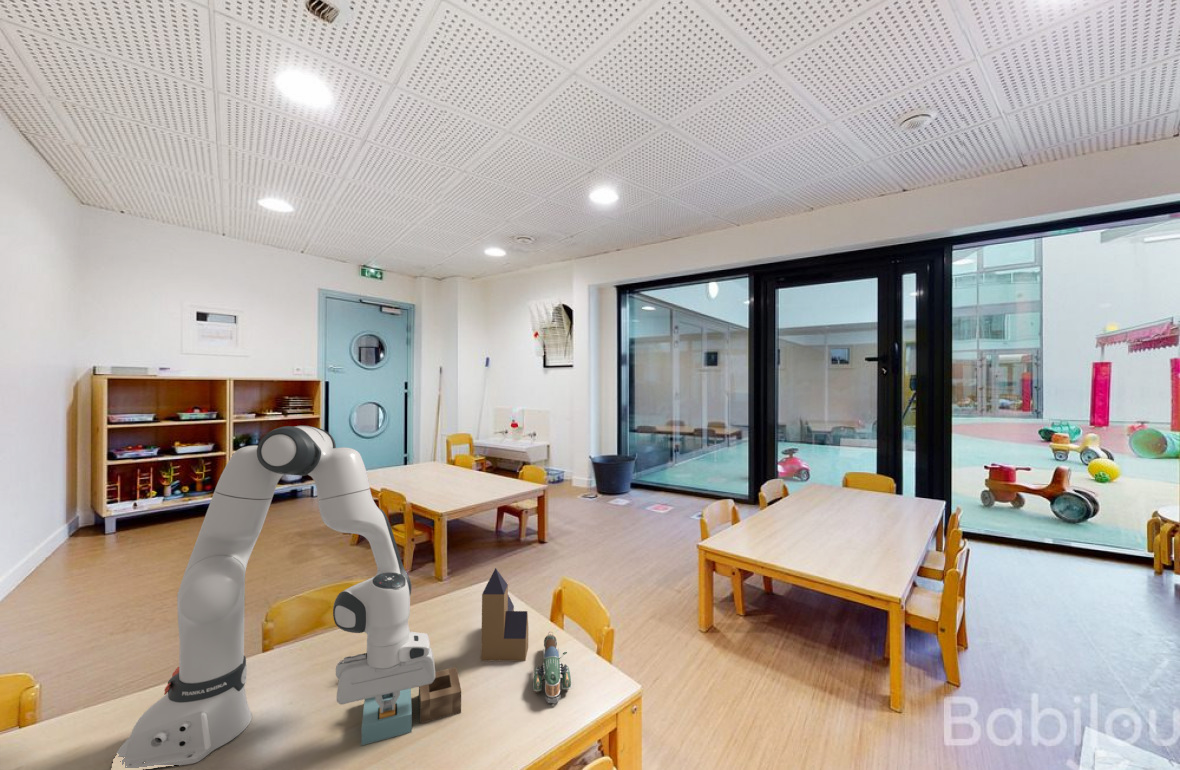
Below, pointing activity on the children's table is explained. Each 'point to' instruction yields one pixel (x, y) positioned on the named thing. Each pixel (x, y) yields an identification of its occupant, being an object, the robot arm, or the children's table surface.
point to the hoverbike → (551, 671)
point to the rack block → (440, 696)
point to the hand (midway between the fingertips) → (387, 710)
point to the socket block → (386, 719)
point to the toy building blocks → (502, 624)
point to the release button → (386, 714)
